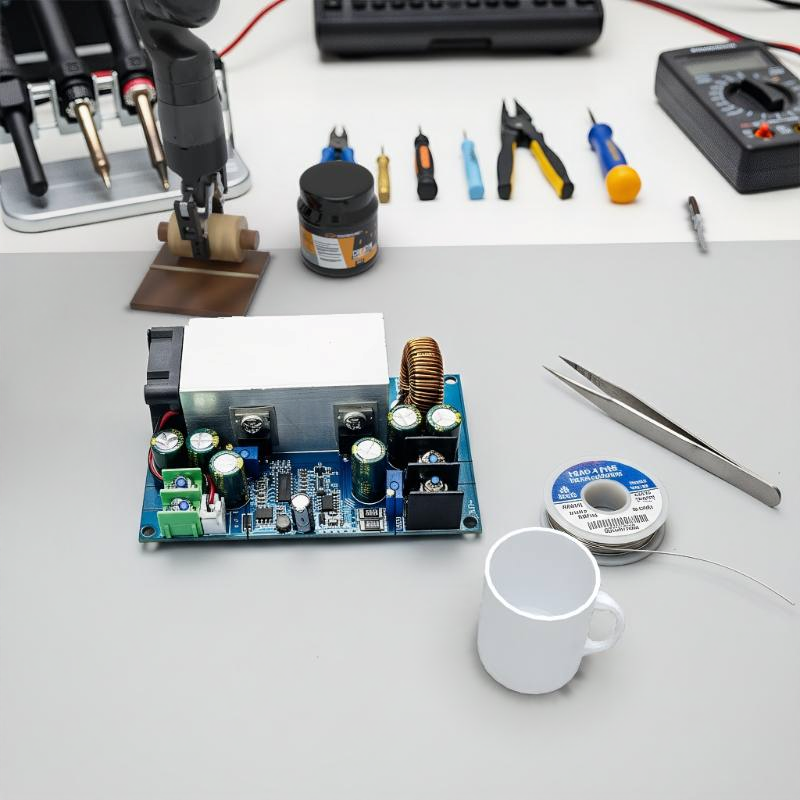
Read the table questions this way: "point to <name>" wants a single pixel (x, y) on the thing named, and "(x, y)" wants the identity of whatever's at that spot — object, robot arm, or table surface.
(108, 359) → the table surface
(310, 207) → the supplement container
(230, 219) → the rolling pin
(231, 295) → the pastry board
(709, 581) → the table surface
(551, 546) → the mug
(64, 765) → the table surface
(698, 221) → the pocket knife
